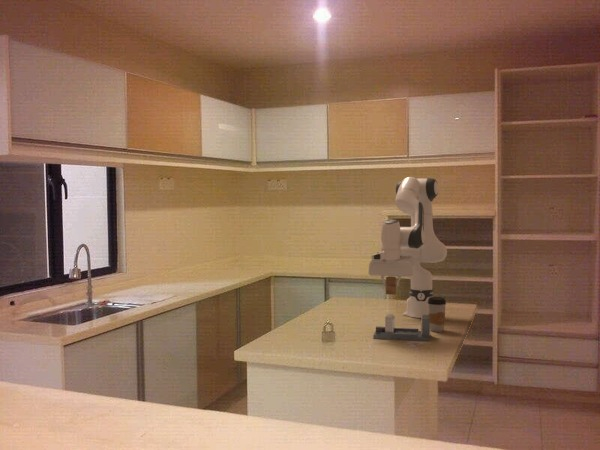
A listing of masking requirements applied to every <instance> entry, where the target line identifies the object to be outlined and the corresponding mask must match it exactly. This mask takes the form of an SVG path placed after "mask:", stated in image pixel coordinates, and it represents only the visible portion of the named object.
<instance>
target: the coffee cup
mask: <svg viewBox="0 0 600 450" xmlns="http://www.w3.org/2000/svg"><path fill="white" fill-rule="evenodd" d="M446 304H447V302H446V299H445V297H441V296H440V297H439V296H433V297H430V298H429V300H428V310H429V315H430V331H431V332H436V333H441V332H444V330H445V321H446V319H445V318H446Z"/></svg>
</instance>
